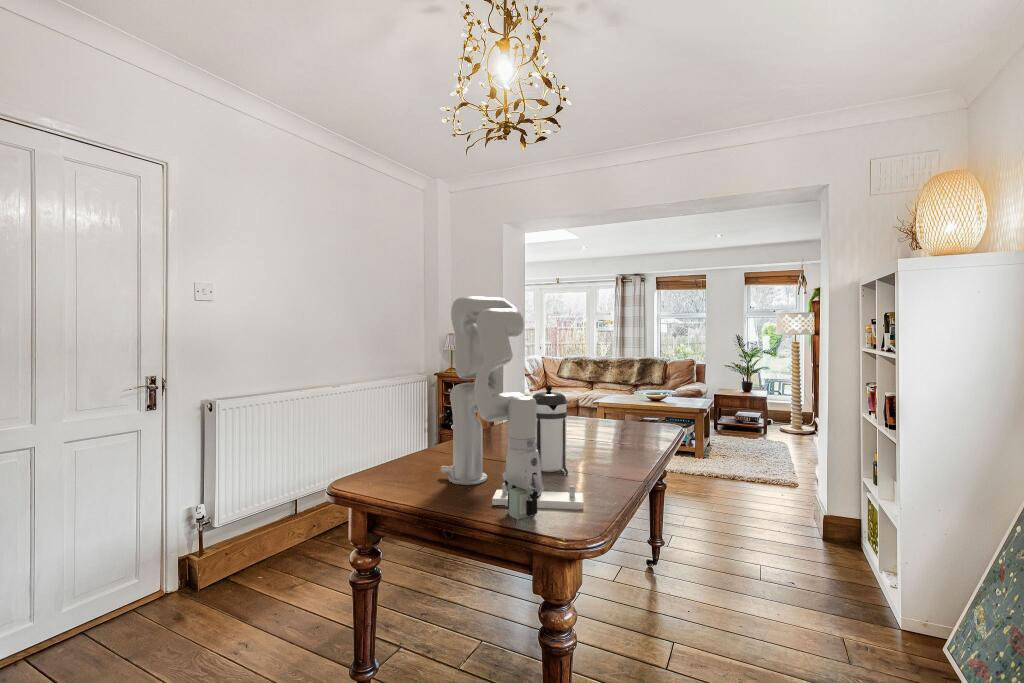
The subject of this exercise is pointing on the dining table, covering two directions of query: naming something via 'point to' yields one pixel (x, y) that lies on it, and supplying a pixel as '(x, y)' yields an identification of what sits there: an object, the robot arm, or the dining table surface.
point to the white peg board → (546, 499)
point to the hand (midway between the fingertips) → (522, 509)
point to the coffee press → (551, 430)
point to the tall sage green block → (518, 502)
